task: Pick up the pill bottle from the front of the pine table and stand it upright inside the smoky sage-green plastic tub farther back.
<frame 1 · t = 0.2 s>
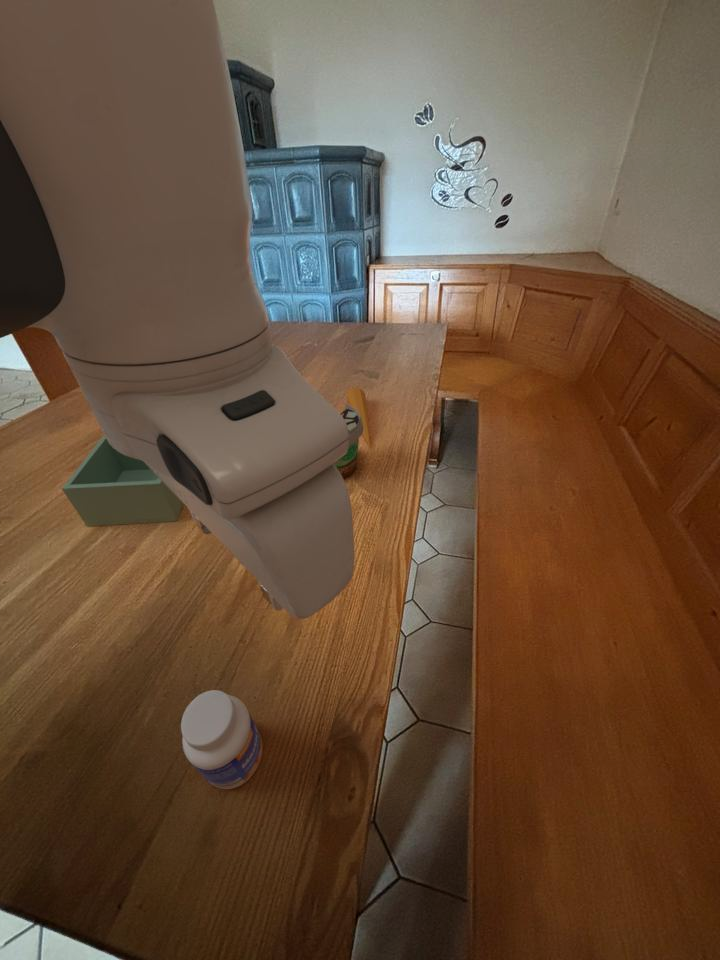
hand: (242, 558, 28), 21 cm above the table, tool pointing down, fingers open, 8 cm apart
tub: (147, 494, 65), on the table
food container: (343, 471, 70), on the table
pill bottle: (234, 755, 36), on the table
carrot: (360, 424, 82), on the table
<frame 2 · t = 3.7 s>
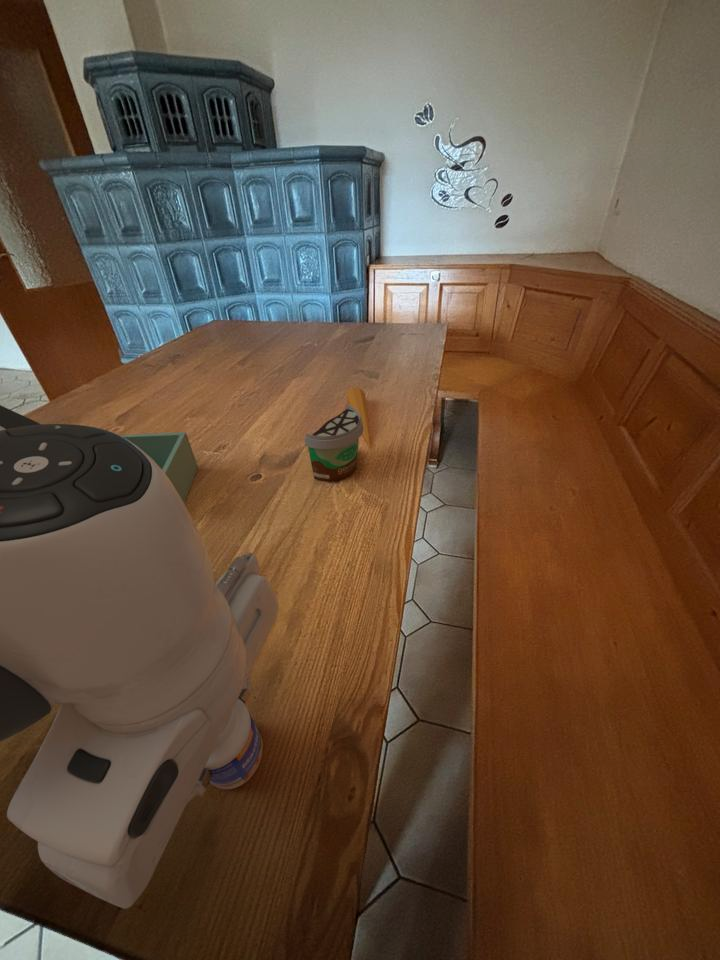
hand: (221, 736, 33), 5 cm above the table, tool pointing down, fingers closed on pill bottle, 5 cm apart
pill bottle: (235, 755, 36), on the table, touching gripper
everything else where it was.
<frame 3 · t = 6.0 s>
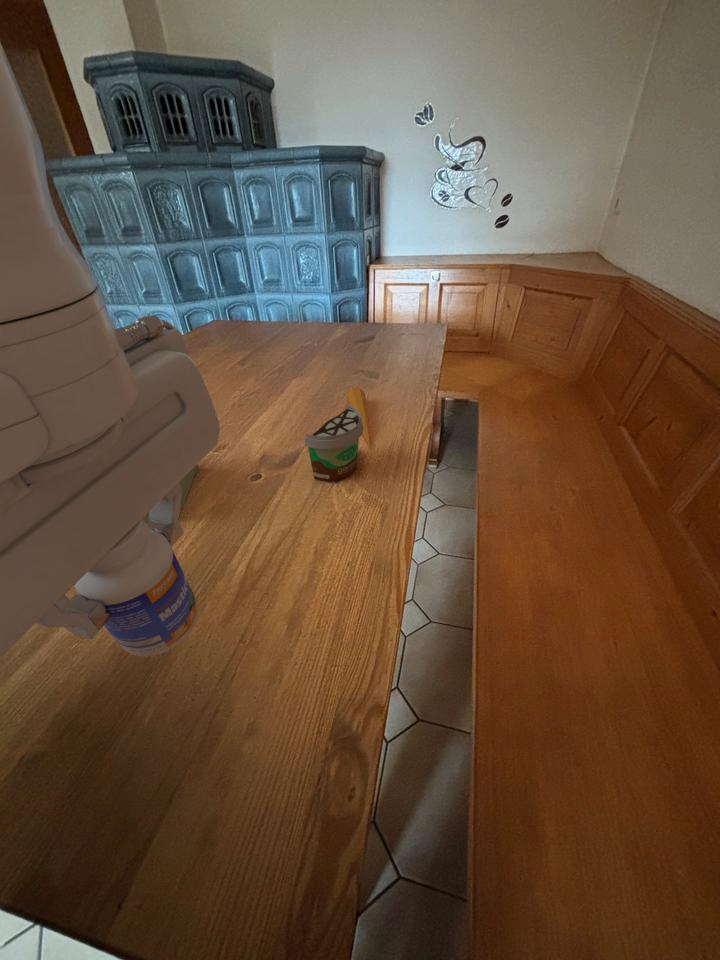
hand: (133, 579, 25), 23 cm above the table, tool pointing down, fingers closed on pill bottle, 5 cm apart
pill bottle: (161, 623, 28), point 17 cm above the table, touching gripper
everything else where it was.
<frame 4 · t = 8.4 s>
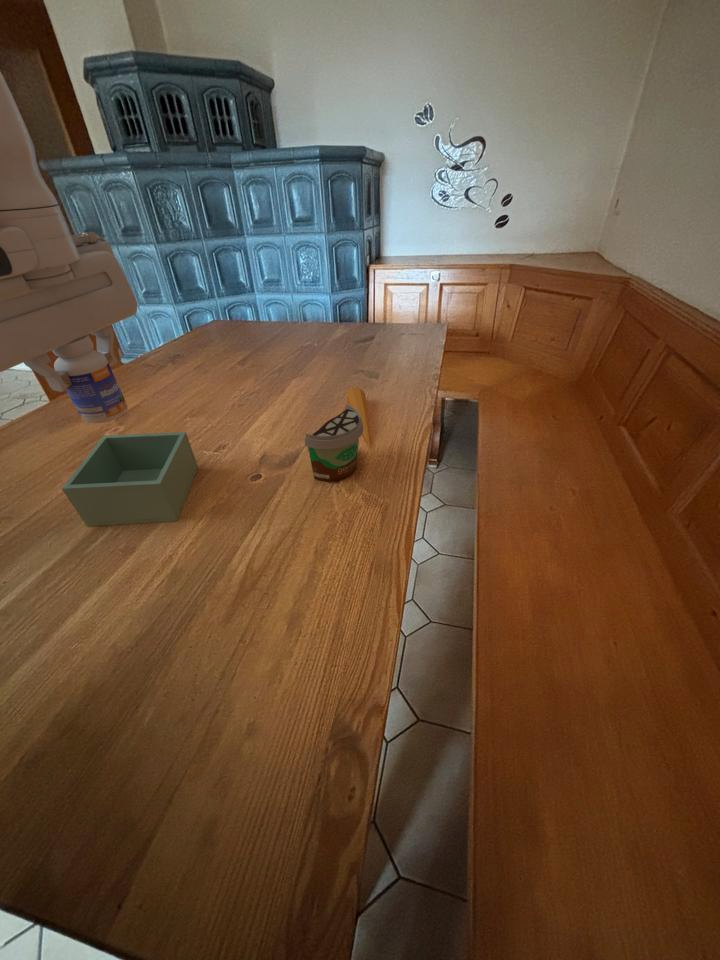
hand: (87, 376, 46), 23 cm above the table, tool pointing down, fingers closed on pill bottle, 5 cm apart
pill bottle: (106, 415, 50), point 18 cm above the table, touching gripper
everything else where it was.
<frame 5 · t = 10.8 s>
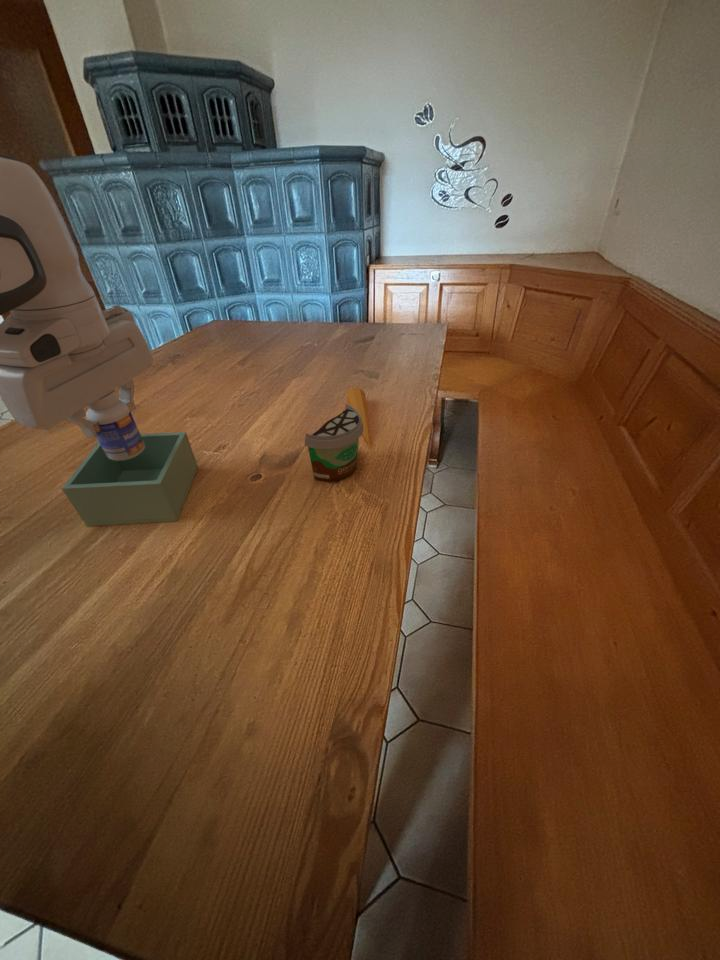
hand: (112, 422, 55), 14 cm above the table, tool pointing down, fingers closed on pill bottle, 5 cm apart
pill bottle: (127, 452, 59), point 9 cm above the table, touching gripper
everything else where it was.
when the fingers open (6 cm above the table, at t = 13.1 s): pill bottle stays where it is, resting on tub.
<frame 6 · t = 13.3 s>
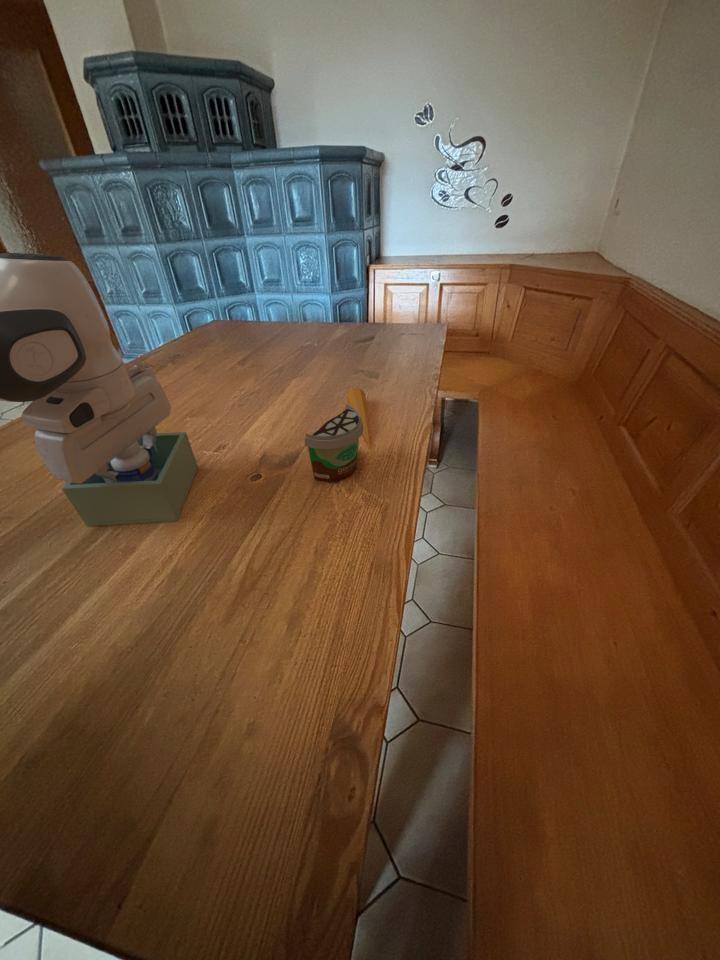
hand: (134, 468, 61), 6 cm above the table, tool pointing down, fingers open, 7 cm apart
pill bottle: (146, 492, 64), point 1 cm above the table, touching tub
everything else where it was.
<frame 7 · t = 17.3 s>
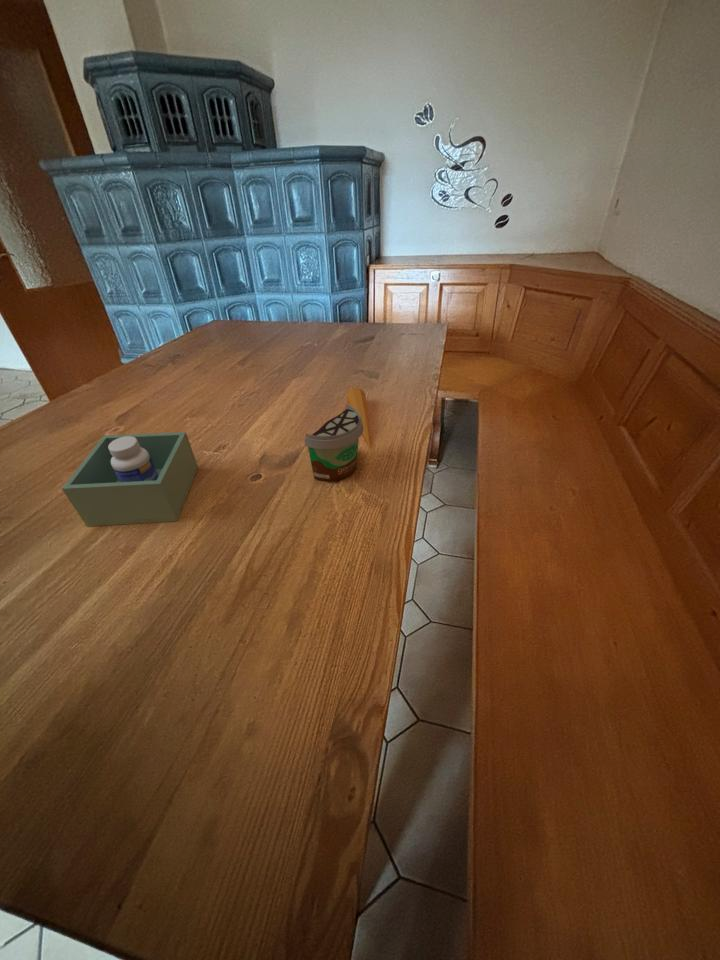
nothing on the table moved.
at the end: pill bottle inside the target area in the tub (0.1 cm from its centre), point 0.6 cm above the tub's base; pill bottle tilted 0°; the gripper is holding nothing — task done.
